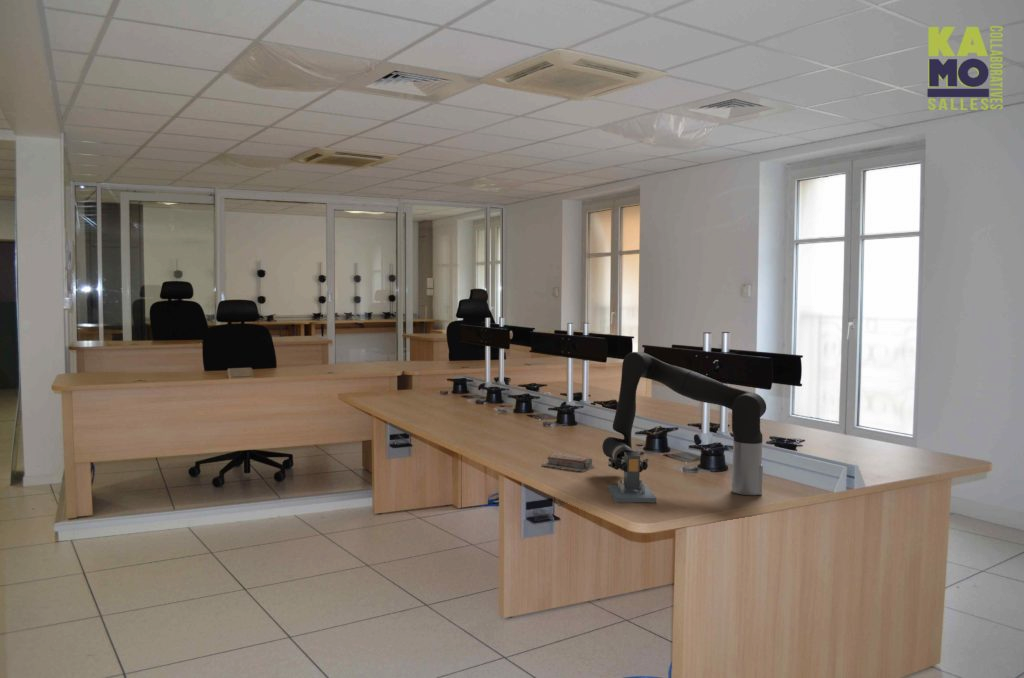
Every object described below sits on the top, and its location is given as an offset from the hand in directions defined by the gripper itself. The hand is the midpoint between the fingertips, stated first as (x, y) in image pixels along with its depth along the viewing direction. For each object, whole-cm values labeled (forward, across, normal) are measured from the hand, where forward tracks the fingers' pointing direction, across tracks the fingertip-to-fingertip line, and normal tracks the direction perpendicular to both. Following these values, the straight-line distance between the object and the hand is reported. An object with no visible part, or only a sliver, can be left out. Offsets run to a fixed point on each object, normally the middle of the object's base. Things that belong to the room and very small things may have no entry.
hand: (633, 469), depth 242 cm
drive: (-3, 0, +7) cm, 7 cm away
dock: (-3, 0, +9) cm, 10 cm away
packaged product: (-45, -17, +10) cm, 49 cm away
